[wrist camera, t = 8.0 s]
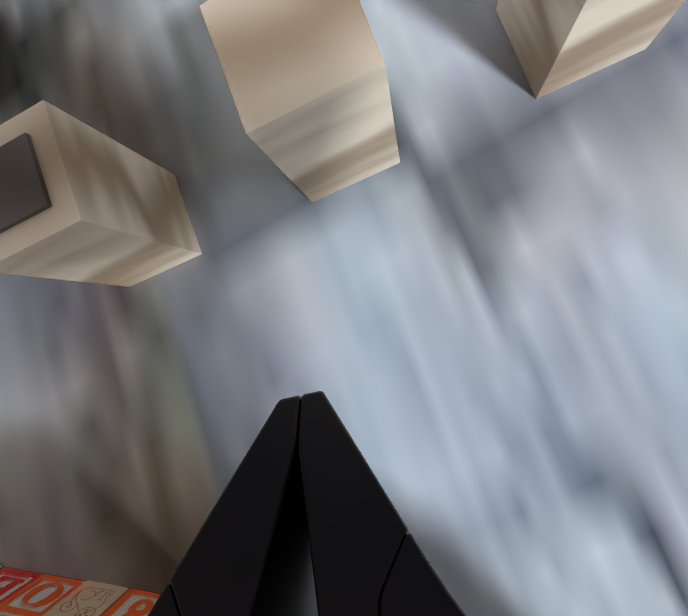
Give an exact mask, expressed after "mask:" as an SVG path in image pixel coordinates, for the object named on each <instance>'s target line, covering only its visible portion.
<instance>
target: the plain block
mask: <svg viewBox="0 0 688 616" xmlns="http://www.w3.org/2000/svg"><path fill="white" fill-rule="evenodd" d="M200 9H201V12H202V15H203V17H204V20H205V23H206V26H207V28H208V31H209V34H210V37H211V39H212V42H213V45H214V47H215V50H216V53H217V56H218V58H219V61H220V64H221V67H222V69H223V72H224V75H225V78H226V80H227V83H228V86H229V89H230V91H231V94H232V97H233V100H234V102H235V105H236V108H237V111H238V113H239V116H240V119H241V122H242V124H243V127H244V130H245V133H246V134H247V135H248V136H249V137H250V139H251V140H252V141H253V142H254V143H255V144H256V145H257V146H258V147H259V148H260V149H261V150H262V151H263V152H264V153H265V154H266V155H267V156H268V157H269V158H270V159H271V160H272V161H273V162H274V163H275V164H276V165H277V166H278V168H279V169H280V170H281V171H282V172H283V173H284V174H285V175H286V176H287V177H288V178H289V179H290V180H291V181H292V182H293V183H294V184H295V185H296V186H297V187H298V188H299V189H300V190H301V191H302V192H303V193H304V194H305V195H306V196H307V198H308V199H309V200H310V201H311V202H314V201H316V200H319V199H321V198H323V197H325V196H327V195H330V194H332V193H334V192H336V191H338V190H341V189H343V188H345V187H347V186H349V185H352V184H354V183H356V182H358V181H361V180H363V179H365V178H367V177H369V176H372V175H374V174H376V173H378V172H380V171H383V170H385V169H387V168H389V167H391V166H394V165H396V164H398V163H400V159H399V153H398V146H397V139H396V133H395V126H394V120H393V113H392V106H391V100H390V93H389V86H388V80H387V73H386V66H385V62H384V60H383V57H382V55H381V53H380V50H379V48H378V45H377V43H376V40H375V38H374V35H373V33H372V31H371V28H370V26H369V23H368V21H367V18H366V16H365V14H364V11H363V9H362V6H361V4H360V1H359V0H208V1H206V2H205V3H203V4H201V5H200Z"/></svg>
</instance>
